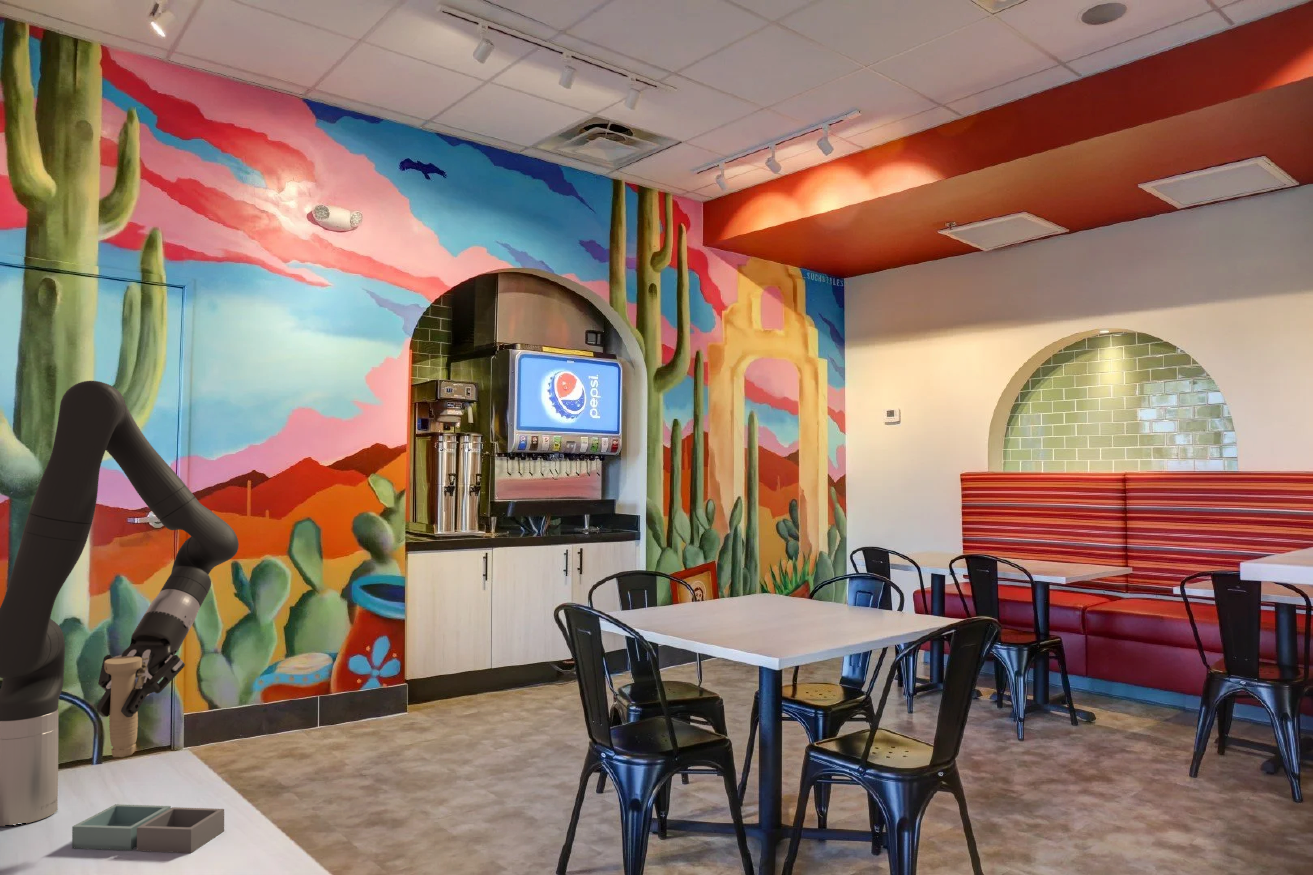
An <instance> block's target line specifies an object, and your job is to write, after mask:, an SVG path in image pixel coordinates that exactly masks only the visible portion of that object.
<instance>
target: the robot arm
mask: <svg viewBox="0 0 1313 875" xmlns="http://www.w3.org/2000/svg"><path fill="white" fill-rule="evenodd" d="M106 452H107V454H109V455H110V457H112V459H113V460H114V461H115V462H116V464H117V465H118V466H119V467H120V469H121V470H122V471H123V473H124V474H125V476H126V478H127V479H128V481H129V482H130V484H131V485H132V487H133V488H134V490H135V491H136V493H137V495H138V496H139V497H140V498H141V500H142V501H143V502H144V504H145V505H146V506H147V507H148V509H149V510H150V511H151V512H152V513H153V515H155V516H156V518H157V520H159V522H160V523H161V524H162V525H163V526H164V527H165V528H166V529H167V530H170V531H181V530H182V531H184V532H186V533H187V534H188V535H189V536H190V537H188V538H187V539H186V540H185V541H184V542H183V544H182V545H181V546H180V547H179V549H178V551H177V554H176V556H175V559H174V562H173V565H172V568H171V573H170V574H169V576H168V578H167V580H166V581H165V582H164V584H163V586H162V588H161V589H160V591H159V593H158V594H157V596H156V597H155V598H154V599H153V600H152V602H151V603H150V605H149V606H148V608H147V610H146V611H145V613H144V615H143V616H142V618H141V619H140V620H139V623H138V624H137V626H136V628H135V629H134V631H133V633H132V634H131V639H130V645H129V646H128V647H127V648H126V649H124V651H123V652H122V653H121V654H119V655H116V656H112V655H111V654H106V655H105V656H104V657H103V659H102V660H103V661H102V664H101V669H100V673H99V678H98V682H97V683H98V684H97V685H98V686H100V687H101V688H102V690H103V691H105V692H104V694H103V695H102V697H101V699H100V700H99V702H98V704H97V706H96V712H97V713H98V714H99V715H100V716H101V717H104V718H107V717H109V716H110V700H111V675H110V674H108V673H106V671H105V669H104V663H105V661H106V660H107V659H111V658H117V657H124V656H137V657H141V658H142V666H141V668H140V669H138V670H137V671H136V673H135V681H136V680H137V681H136V686H135V688H136V690H132V691H131V693H130V695H129V697H128V698H127V700H126V702H125V704H124V705H123V707H122V709H121V712H122V713H123V714H124V715H125V716H126V717H132V716H133V715H134V714H135V713H136V712H137V711H139V709H140V707H141V706H142V703H143V702H144V701H145V698H146V697H148V696H149V695H151V694H153V693H155V694H160V693H161V692H162V691H163V690H164V689H165V688H166V687H167V686H168V685H169V684H170V683H171V681H173V680H174V678H176V676H177V675H178V674H179V673H180V672H181V671H182V670H183V669H184V668H185V666H186V663H185V662H184V661H183V660H182V659H181V657H179V655H178V654H177V653H178V652H179V650H180V648H181V646H182V644H183V642H184V641H185V639H186V637H187V635H188V633H189V632H190V630H191V628H192V626H193V624H194V622H195V620H196V618H197V615H198V613H199V610H200V608H201V606H202V605H203V603H204V601H205V599H206V598H207V596H208V594H209V591H210V590H211V586H212V579H211V577H210V575H209V574H210V573H211V571H212V570H213V569H214V568H216V567H217V566H219V565H221V564H223V563H225V562H227V561H229V560H231V559H232V558H234V557H235V556H236V555H237V554H238V551H239V538H238V536H237V534H236V532H235V531H234V529H233V528H232V526H231V525H229V524H228V523H227V522H226V521H225V520H223V519H222V518H221V517H220V516H218V515H217V514H216V513H215V512H213V511H212V510H211V509H209V508H208V507H206V506H205V505H203V504H202V503H201V502H200V501H199V500H198V499H197V497H196V496H195V495H194V494H193V492H192V491H191V490H190V488H188V486H187V485H186V483H185V482H184V481H183V480H182V478H180V477H179V475H177V473H176V472H175V471H174V470H173V468H172V467H171V466H170V465H169V464H168V463H167V462H166V461H165V460H164V458H163V457H161V456H162V455H160V454H159V453H158V451H157V450H156V449H155V448H154V447H153V446H152V444H151V443H150V442H149V440H148V439H147V438H146V436H145V435H144V433H143V432H142V431H141V429H140V428H139V425H138V424H137V422H136V421H135V419H134V417H133V415H132V414H131V412H130V410H129V408H128V406H127V405H126V401H125V398H124V396H123V395H122V393H121V392H120V390H118V389H117V388H115V387H114V386H113V385H111V384H108V383H106V382H102V381H98V380H85V381H80V382H78V383H76V384H73V385H72V386H70V387H69V389H67V390H66V391H65V393H64V394H63V395H62V398H61V401H60V406H59V413H58V418H57V425H56V432H55V436H54V442H53V446H52V451H51V455H50V458H49V460H48V464H47V465H46V468H45V469H44V472H43V474H42V477H41V479H40V481H39V483H38V487H37V489H36V492H35V495H34V497H33V500H32V503H31V505H30V509H29V512H28V515H27V518H26V522H25V525H24V529H23V532H22V536H21V540H20V542H19V543H20V544H19V548H18V551H17V554H16V558H15V560H14V565H13V568H12V572H11V574H10V580H9V583H8V586H7V589H6V592H5V595H4V598H3V599H2V602H1V605H0V678H1V679H2V682H1V686H0V827H6V826H5V825H13V824H18V823H26V824H29V823H32V822H37V821H40V820H43V819H45V818H47V817H50V816H52V815H53V814H55V813H56V812H57V811H58V805H59V804H58V803H59V799H58V798H59V797H58V796H59V701H60V696H61V694H62V691H63V687H64V680H65V678H64V676H65V674H64V673H65V660H66V659H65V657H66V656H65V655H66V649H65V647H66V645H65V644H66V642H65V637H64V636H65V635H64V633H63V630H62V628H61V627H60V625H59V624H58V623H57V622H56V621H55V620H53V619H51V616H52V611H53V608H54V605H55V603H56V600H57V597H58V596H59V594H60V591H61V589H62V587H63V586H64V584H65V583H66V581H67V579H68V578H69V576H70V575H71V573H72V571H73V570H74V567H75V566H76V565H77V563H78V562H79V560H80V558H81V556H82V554H83V551H84V548H85V547H86V543H87V542H88V537H89V535H90V530H91V527H92V522H93V520H94V515H95V511H96V506H97V499H98V493H99V492H98V490H99V478H100V471H101V467H102V466H101V465H102V461H103V458H104V455H105V453H106Z"/></svg>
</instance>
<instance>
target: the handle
mask: <svg viewBox="0 0 1313 875" xmlns="http://www.w3.org/2000/svg"><path fill="white" fill-rule="evenodd" d="M141 666H142V658H141V657H137V656H124V657H117V658H111V659H107V660H106V661H105V663H104V669H105V671H106V673H108V674H110V675H111V700H110V715H109V716H108V717H109V721H108V722H109V726H108V727H109V739H110V746H111V747H112V748H111V756H112V757H113V758H124V757H128V756H132V755H133V753H135V752H136V749H137V743H136V742H137V738H138V728H139V716H138V715H139V714H138V711H139V710H138V711H137V712H136V713H135V714H134V715H133V716H132V717H126V716H125V715H124V714H123V713H122V712H121V709H122V707H123V705H124V704H125V702H126V700H127V698H128V697H129V695H130V693H131V691H132V690H136V688H135V686H136V683H137V681H136V680H135V673H136V671H137V670H138V669H140V668H141Z"/></svg>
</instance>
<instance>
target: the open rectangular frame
mask: <svg viewBox="0 0 1313 875" xmlns="http://www.w3.org/2000/svg"><path fill="white" fill-rule="evenodd" d="M224 832H225V809H224V808H207V807H204V808H203V807H177V806H176V807H175V806H174V807H171V809H169V810H167V811H165V812H163V813H162V814H160V815H158V816H156V817H155V818H153V819H151V820H149V821H148V822H146V823H144V824H142V825H141V826H139V827H137V847H136V852H155V853H156V852H157V853H160V852H161V853H181V854H182V853H185V854H193V852H195V851H197V850H198V849H200V848H201V847H202V846H204V845H206V844H207V843H208V842H210V841H212V840H213V839H215V838H216V837H217V836H219V835H220V834H222V833H224Z"/></svg>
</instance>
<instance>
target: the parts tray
mask: <svg viewBox="0 0 1313 875" xmlns="http://www.w3.org/2000/svg"><path fill="white" fill-rule="evenodd" d="M171 808H172V807H171V805H152V804H151V805H149V804H148V805H146V804H118V803H117V804H114V805H112V806H109V807H108V808H106V809H103V810H102V811H99V812H98V813H95V814H94V815H92V816H90V817H88V818H86V819H84V820H82V821H81V822H78V823H76V824H75V825H73V826H72V828H71V831H72V832H71V833H72V834H71V836H72V837H71V841H72V843H71V849H81V850H82V849H84V850H104V851H105V850H106V851H107V850H108V851H109V850H110V851H132V850H134V849H137V827H139V826H141V825H142V824H144V823H146V822H148V821H149V820H151V819H153V818H155V817H156V816H158V815H160V814H162V813H163V812H165V811H167V810H169V809H171Z"/></svg>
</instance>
